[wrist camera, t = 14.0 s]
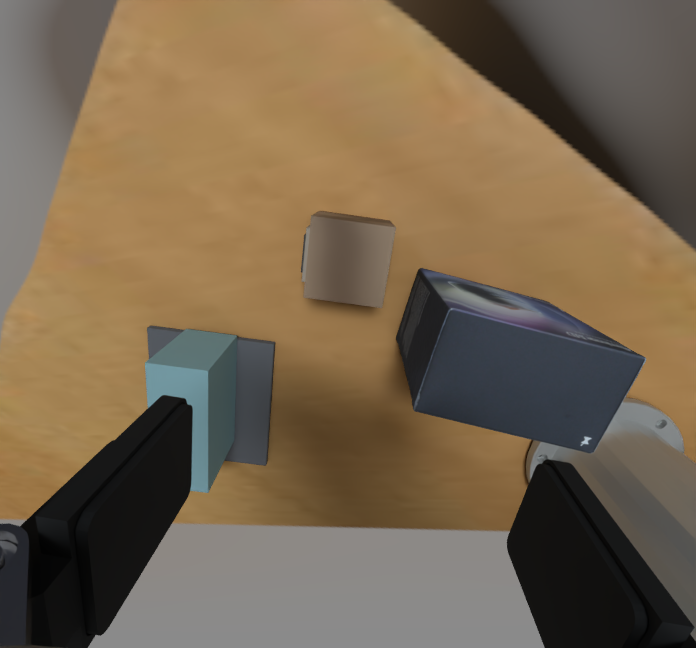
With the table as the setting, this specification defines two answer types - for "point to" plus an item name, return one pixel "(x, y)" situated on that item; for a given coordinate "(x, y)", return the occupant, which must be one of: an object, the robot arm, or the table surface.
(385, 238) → the wooden letter block
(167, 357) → the teal rectangular block
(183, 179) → the table surface
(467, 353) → the small box
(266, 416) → the dark gray block
